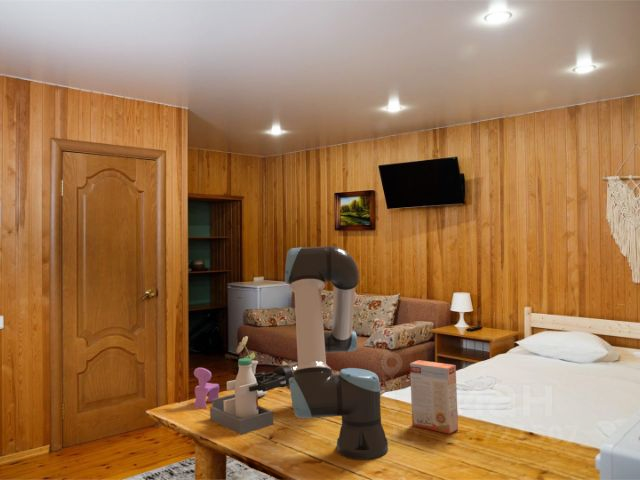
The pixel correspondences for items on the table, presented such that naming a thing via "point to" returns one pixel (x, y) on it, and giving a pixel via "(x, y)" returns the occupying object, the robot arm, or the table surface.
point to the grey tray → (235, 423)
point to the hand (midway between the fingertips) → (233, 388)
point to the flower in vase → (251, 356)
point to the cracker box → (434, 396)
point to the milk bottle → (247, 402)
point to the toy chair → (204, 388)
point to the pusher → (230, 406)
